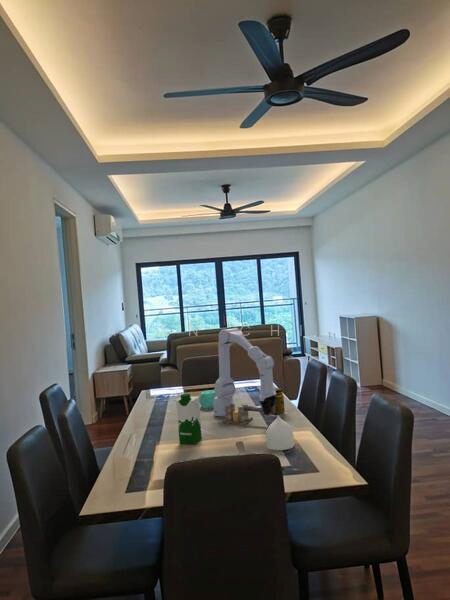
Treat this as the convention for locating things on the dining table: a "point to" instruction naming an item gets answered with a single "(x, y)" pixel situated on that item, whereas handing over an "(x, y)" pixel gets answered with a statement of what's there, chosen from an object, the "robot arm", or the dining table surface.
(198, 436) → the milk carton
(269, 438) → the teardrop
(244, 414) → the bearing stand
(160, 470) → the dining table surface
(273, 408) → the shaft
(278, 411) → the condiment
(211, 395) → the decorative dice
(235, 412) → the block
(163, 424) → the dining table surface
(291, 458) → the dining table surface
